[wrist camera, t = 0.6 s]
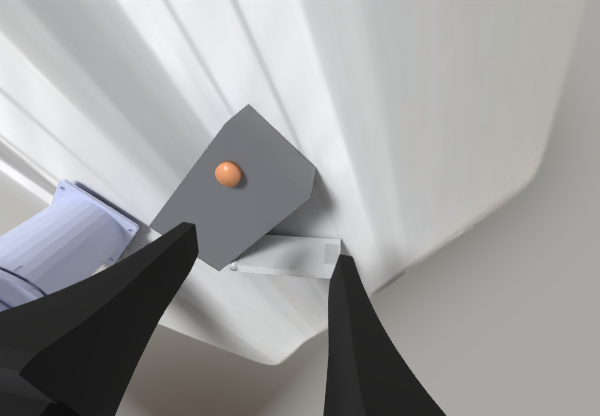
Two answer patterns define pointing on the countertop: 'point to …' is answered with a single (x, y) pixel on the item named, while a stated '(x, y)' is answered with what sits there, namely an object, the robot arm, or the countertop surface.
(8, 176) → the countertop surface
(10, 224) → the countertop surface
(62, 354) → the robot arm
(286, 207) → the grey box
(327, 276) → the side door
